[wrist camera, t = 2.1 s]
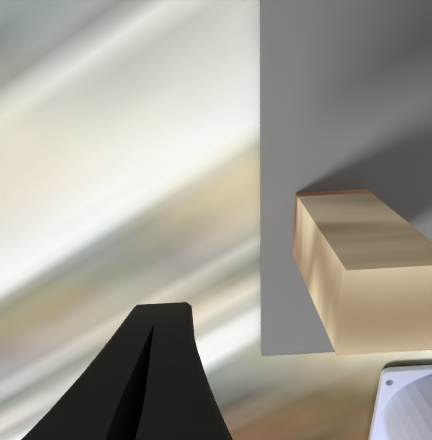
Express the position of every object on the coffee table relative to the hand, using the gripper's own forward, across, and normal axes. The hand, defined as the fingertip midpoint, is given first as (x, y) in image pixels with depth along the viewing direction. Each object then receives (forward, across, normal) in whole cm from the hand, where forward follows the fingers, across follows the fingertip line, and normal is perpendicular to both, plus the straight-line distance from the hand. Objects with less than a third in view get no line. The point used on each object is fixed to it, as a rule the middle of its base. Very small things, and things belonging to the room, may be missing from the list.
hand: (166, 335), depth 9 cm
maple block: (+10, -7, +2) cm, 12 cm away
